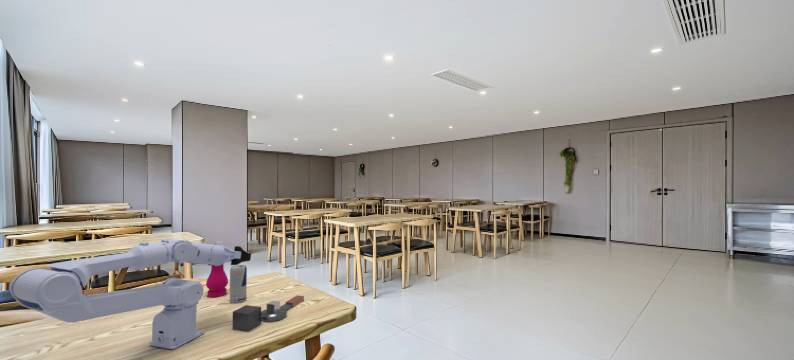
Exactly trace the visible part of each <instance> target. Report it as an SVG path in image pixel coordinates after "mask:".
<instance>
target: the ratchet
mask: <svg viewBox="0 0 794 360" xmlns="http://www.w3.org/2000/svg"><path fill="white" fill-rule="evenodd" d="M304 301H305V295H294V296H293V297H291V298H290V299H288V300H287V301H285V303H284V304H282V305H281V301H279V300H271V301H269V302H267V303H266V309H263V310H261V323H262V322H263V323H269V324H270V323H277V322H280V321H283V320H285V319H286V318H287V315H288V311H289V310H291V309H292V308H295V307H297V306H299V305H300V304H301V303H303V302H304Z"/></svg>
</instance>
